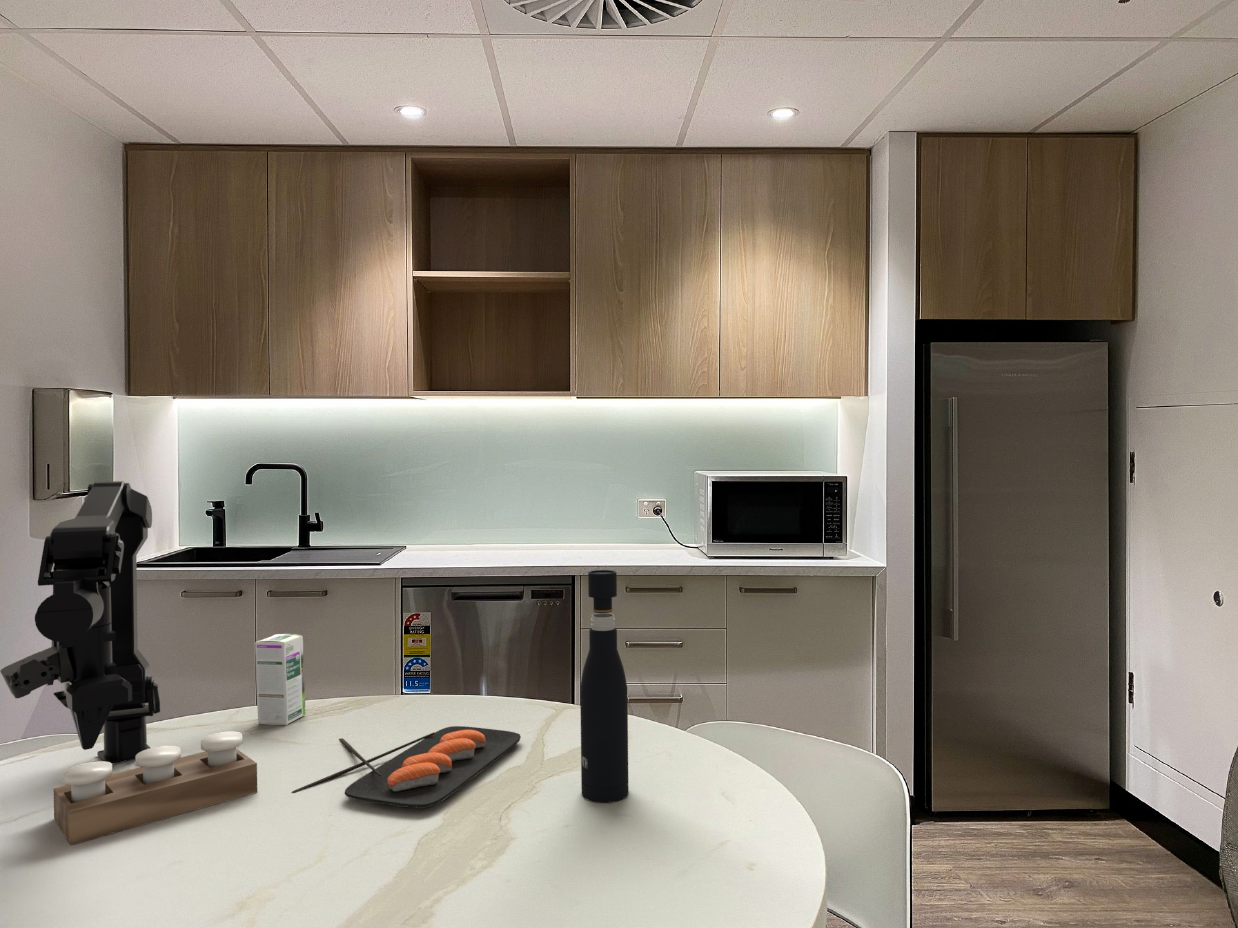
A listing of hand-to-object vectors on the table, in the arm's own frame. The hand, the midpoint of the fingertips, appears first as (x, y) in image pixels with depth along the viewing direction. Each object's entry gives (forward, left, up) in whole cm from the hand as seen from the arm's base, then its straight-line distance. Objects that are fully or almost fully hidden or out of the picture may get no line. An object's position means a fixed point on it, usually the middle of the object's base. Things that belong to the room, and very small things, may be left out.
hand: (87, 748), depth 105 cm
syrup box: (-24, +33, -10) cm, 42 cm away
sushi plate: (+9, +37, -10) cm, 40 cm away
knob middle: (0, +8, -7) cm, 11 cm away
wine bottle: (+39, +52, -10) cm, 66 cm away
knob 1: (0, 0, -7) cm, 7 cm away
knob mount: (0, +8, -10) cm, 12 cm away
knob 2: (0, +16, -7) cm, 18 cm away
